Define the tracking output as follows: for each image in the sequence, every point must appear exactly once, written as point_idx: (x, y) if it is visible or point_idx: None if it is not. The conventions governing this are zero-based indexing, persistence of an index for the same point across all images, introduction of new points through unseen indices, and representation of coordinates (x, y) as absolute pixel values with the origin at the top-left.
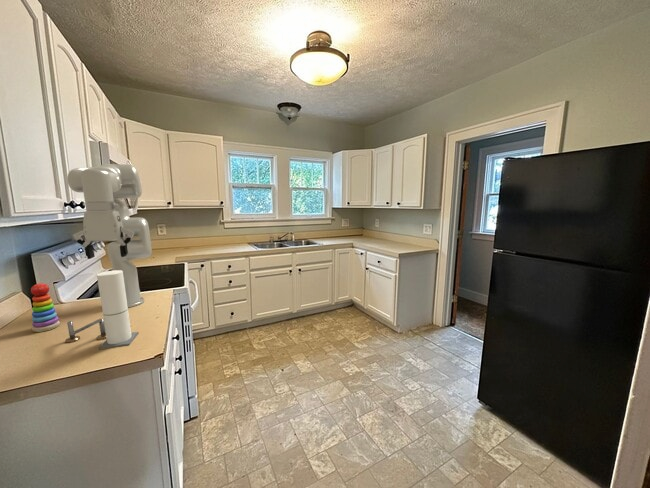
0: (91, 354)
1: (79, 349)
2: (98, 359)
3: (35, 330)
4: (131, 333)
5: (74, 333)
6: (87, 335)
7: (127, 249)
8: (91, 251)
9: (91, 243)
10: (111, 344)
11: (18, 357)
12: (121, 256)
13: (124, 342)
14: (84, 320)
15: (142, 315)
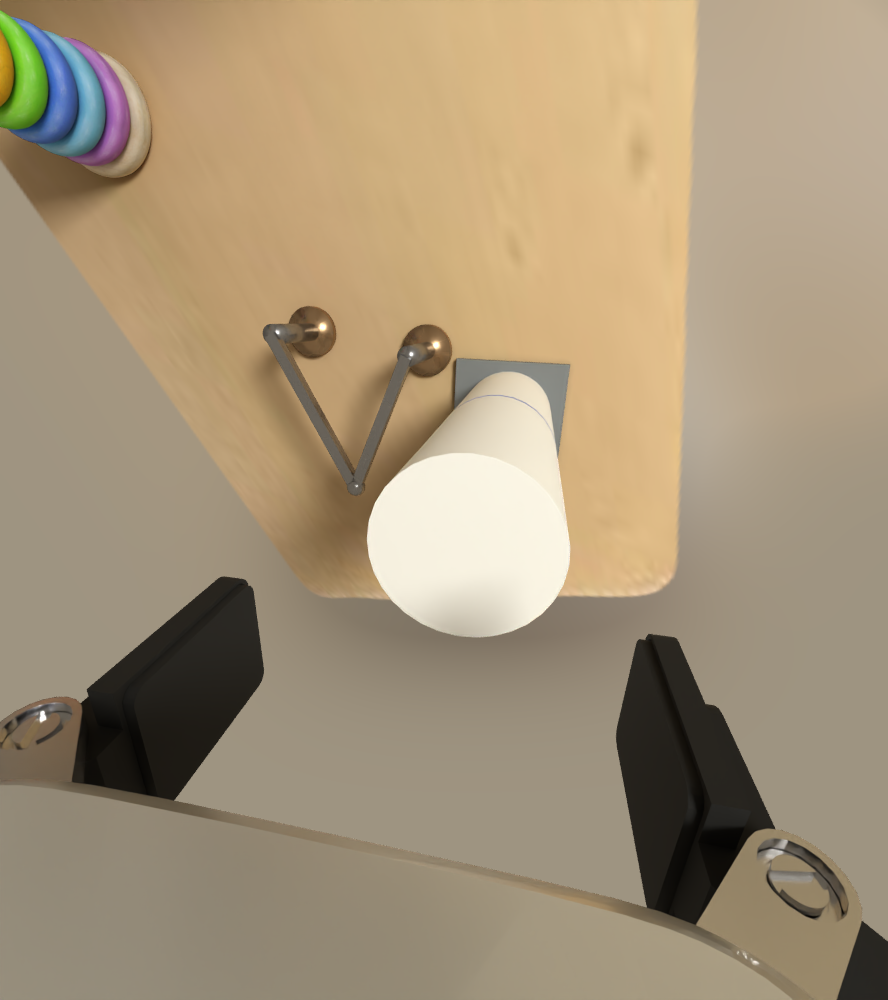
0: None
1: None
2: None
3: (96, 173)
4: (542, 373)
5: (364, 488)
6: (349, 300)
7: (739, 757)
8: (204, 696)
9: (81, 775)
10: None
11: (213, 417)
12: (621, 738)
13: None
14: (231, 53)
15: (540, 75)
